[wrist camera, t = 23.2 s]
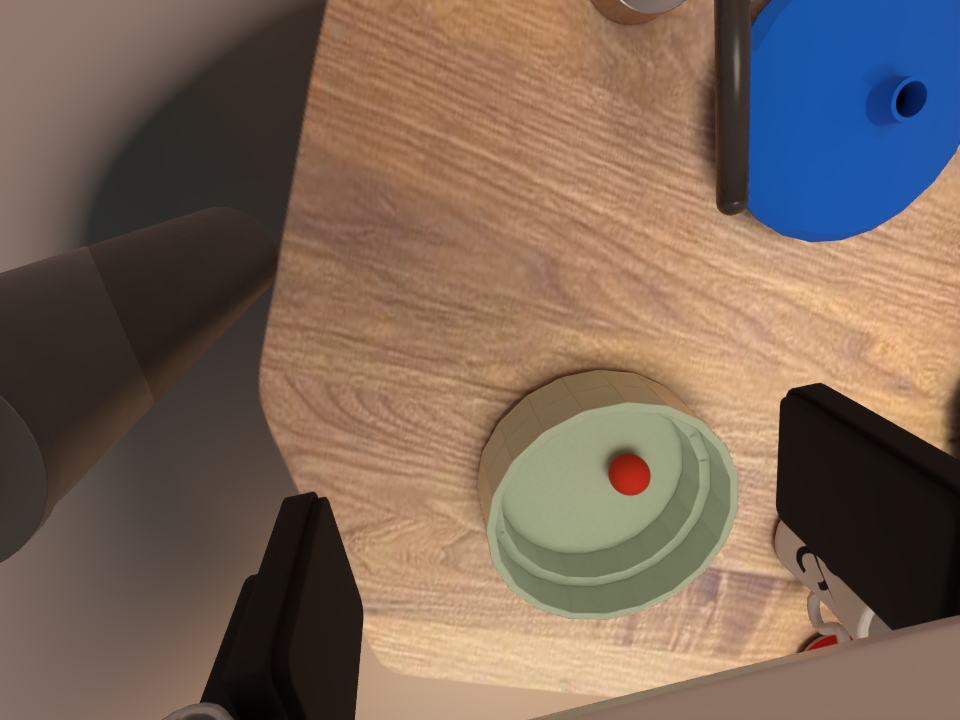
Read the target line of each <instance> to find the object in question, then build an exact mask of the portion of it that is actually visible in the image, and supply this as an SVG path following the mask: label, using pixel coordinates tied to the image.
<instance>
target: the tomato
mask: <svg viewBox="0 0 960 720" xmlns="http://www.w3.org/2000/svg"><path fill="white" fill-rule="evenodd" d="M608 477H609V481H610V483H611V485H612V486H613V488H614V489H615V490H616V491H618V492H619V493H621V494H623V495H627V496H634V495H638V494H640V493H642V492H643V491H644V490H645V489H646V488H647V487H648V485H649V483H650V479H651V473H650V469H649V466H648V465H647V463H646V462H645V461H644V460H643V459H642V458H640V457H639V456H637V455H633V454H623V455H620V456H618V457H617V458H615V459H614V460H613V461H612V463H611V465H610V467H609V471H608Z"/></svg>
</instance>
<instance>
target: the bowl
mask: <svg viewBox="0 0 960 720" xmlns="http://www.w3.org/2000/svg"><path fill="white" fill-rule="evenodd" d="M623 454H633V455H637V456H639V457H640V458H642V459H643V460H644V461H645V462H646V463H647V465H648V466H649V469H650V473H651V479H650V483H649V485H648V487H647V488H646V489H645V490H644V491H643V492H642V493H640V494H638V495H634V496H627V495H623V494H621V493H619V492H618V491H616V490H615V489H614V488H613V486H612V485H611V483H610V481H609V477H608V471H609V467H610V465H611V463H612V461H613V460H614V459H615V458H617V457H618V456H620V455H623ZM477 490H478V495H479V500H480V505H481V510H482V515H483V520H484V524H485V529H486V534H487V539H488V544H489V549H490V553H491V558H492V563H493V565H494V567H495V568H496V570H497V571H498V572H499V574H500V575H501V577H502V578H503V580H504V581H505V583H506V584H507V586H508V587H509V589H510V590H511V591H512V592H513V593H515V594H516V595H518V596H519V597H521V598H522V599H523V600H525V601H526V602H528V603H529V604H531V605H532V606H533V607H535V608H536V609H538V610H542V611H545V612H548V613H552V614H555V615H558V616H562V617H565V618H568V619H597V620H606V619H611V618H616V617H620V616H624V615H629V614H633V613H637V612H642V611H644V610H646V609H648V608H650V607H652V606H654V605H656V604H658V603H660V602H662V601H664V600H666V599H669V598H671V597H673V596H675V595H676V594H678V593H679V592H680V591H681V590H683V589H684V588H685V587H686V586H687V585H689V584H690V583H691V582H692V581H693V580H695V579H696V578H697V577H698V576H700V575H701V574H702V573H703V572H704V571H705V570H706V569H707V567H708V566H709V565H710V563H711V562H712V561H713V559H714V558H715V556H716V555H717V554H718V552H719V551H720V550H721V548H722V547H723V546H724V544H725V543H726V541H727V538H728V536H729V533H730V530H731V527H732V525H733V522H734V519H735V516H736V514H737V511H738V474H737V471H736V469H735V466H734V463H733V461H732V458H731V456H730V453H729V451H728V448H727V446H726V444H725V443H724V442H723V441H722V440H721V439H720V438H719V437H718V436H717V435H716V434H715V433H714V432H713V431H712V430H711V429H710V428H709V427H708V426H707V425H706V424H705V423H704V422H703V421H702V420H701V419H700V418H699V417H698V416H697V415H696V414H694V413H693V412H692V411H691V410H690V409H689V408H688V407H687V406H686V405H685V404H684V403H683V402H682V401H680V400H679V399H678V398H677V397H676V396H675V395H674V394H673V393H672V392H671V391H670V390H669V389H668V388H666V387H665V386H663V385H660V384H658V383H656V382H654V381H652V380H649V379H647V378H645V377H643V376H641V375H638V374H636V373H628V372H617V371H607V370H594V371H590V372H585V373H580V374H575V375H570V376H565V377H561V378H559V379H557V380H555V381H553V382H551V383H549V384H547V385H546V386H544V387H542V388H540V389H538V390H536V391H534V392H532V393H530V394H529V395H527V396H526V397H525V398H524V399H523V400H521V401H520V402H519V403H518V404H517V405H516V406H515V407H514V408H513V409H512V410H511V411H510V412H509V413H508V414H507V415H506V416H505V417H504V418H503V419H502V420H501V421H500V422H499V423H498V425H497V427H496V428H495V430H494V432H493V434H492V436H491V438H490V439H489V441H488V443H487V445H486V447H485V448H484V450H483V452H482V456H481V462H480V468H479V474H478V480H477Z"/></svg>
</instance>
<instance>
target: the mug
mask: <svg viewBox="0 0 960 720" xmlns="http://www.w3.org/2000/svg"><path fill="white" fill-rule="evenodd" d="M775 551H776V553H777V555H778V558H779V560H780V561H781V563H782V564H783V565H784V566H785V567H786V568H787V569H788V570H789V571H790V572H791V573H792V574H793V575H794V576H795V577H796V578H797V579H799V580H800V581H801V582H802V583H803V584H804V585H806V586H807V587H808V588H809V589H810V590H811V592H810V594H809V595H808V597H807V609H808V615H809V618H810V621H811V623H812V626H813V627H814V628H815V629H816V630H817V631H818V632H819V633H821V634H823V635H836V637H837V641H838V644H839V643H843V642H847V641H851V640H850V636H851V637H852V639H853V640H856V639H860V638H864V637H868V636H872V635H877V634H881V633H885V632H889V631H892V630H891V629H890V628H889V627H888V626H887V625H886V624H885V623H884V622H883V621H882V620H881V619H880V618H879V617H878V616H877V615H876V614H875V613H874V612H873V611H872V610H871V609H870V608H869V607H868V606H867V605H866V604H865V603H864V602H863V601H862V600H861V599H860V598H859V597H858V596H857V595H856V594H855V593H854V592H853V591H852V590H851V589H850V588H849V587H848V586H847V585H846V584H845V583H844V582H843V581H842V580H841V579H840V578H839V577H838V576H837V575H836V574H835V573H834V572H833V571H832V570H831V569H830V568H829V567H828V566H827V565H826V564H825V563H824V562H823V561H822V560H821V559H820V558H819V557H818V556H817V555H815V554H814V553H813V552H812V551H811V550H810V549H809V548H808V547H807V546H806V545H805V544H804V543H803V542H802V541H801V540H800V539H799V538H798V537H797V536H796V535H795V534H794V533H793V532H792V531H791V530H790V529H789V528H788V527H787V526H786V525H785V524H784V523H783V521H782V520H781V521H780V523H779V524H778V527H777V532H776V536H775ZM820 600H821V601H822V602H823V603H824V604H825V605H826V606H827V607H828V608H829V609H830V610H831V611H832V612H833V613H834V614H835V616H836V617H837V618H838V620H839V621H840V622H841V623H842V625H843V626H844V627H843V626H842V625H840V624H838V623H835V622H829V623H824V622H823V620H822V617H821V614H820V608H819V605H820ZM849 634H850V636H849Z"/></svg>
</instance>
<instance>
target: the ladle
mask: <svg viewBox="0 0 960 720" xmlns="http://www.w3.org/2000/svg"><path fill="white" fill-rule="evenodd" d="M591 1H592V3H593V4H594V5H595V7H596V8H597V9H598V10H599V11H600V12H601V13H602V14H603V15H604V16H605V17H607V18H608V19H610V20H612V21H614V22H617V23H620V24H624V25H637V24H642V23H645V22H648V21H650V20H652V19H654V18H656V17H658V16H660V15H662V14H664V13H666V12H668V11H670V10H672V9H674V8H676V7H677V6H679V5H680V4H682V3H683V2H684V1H686V0H591ZM714 25H715V134H716V205H717V208H718V209H719V211H720V212H721V213H723V214H725V215H730V216H732V215H737V214H739V213H741V212H742V211H743V210H744V209H745V208H746V206H747V205H748V202H749V152H750V73H751V0H714Z"/></svg>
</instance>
